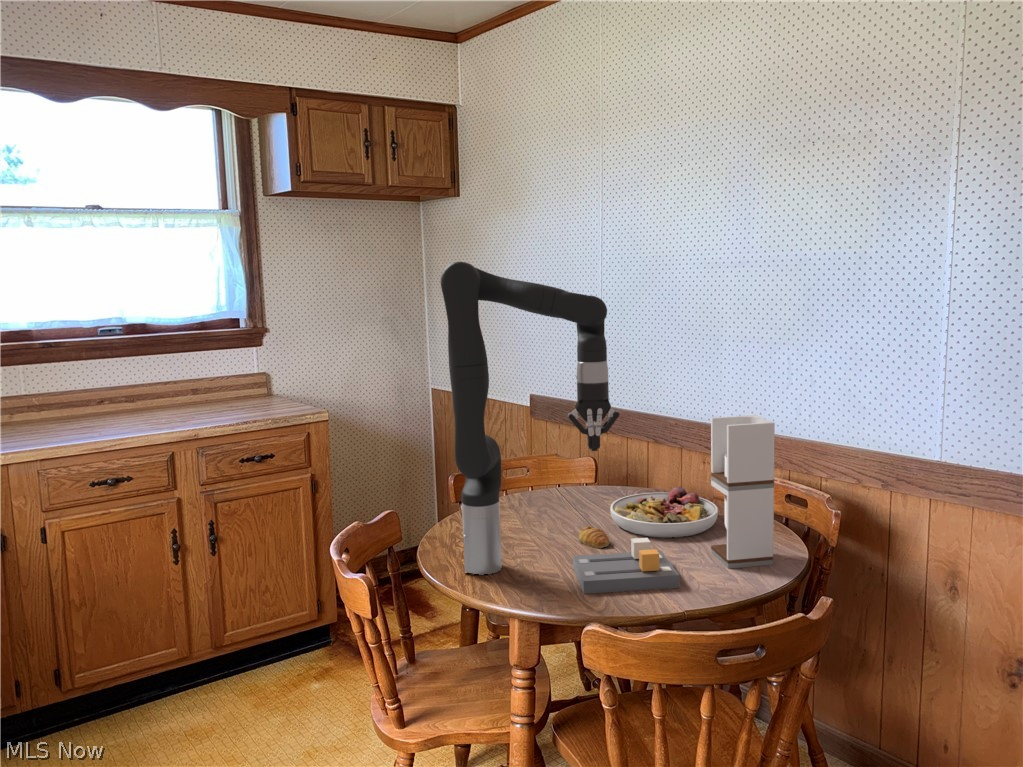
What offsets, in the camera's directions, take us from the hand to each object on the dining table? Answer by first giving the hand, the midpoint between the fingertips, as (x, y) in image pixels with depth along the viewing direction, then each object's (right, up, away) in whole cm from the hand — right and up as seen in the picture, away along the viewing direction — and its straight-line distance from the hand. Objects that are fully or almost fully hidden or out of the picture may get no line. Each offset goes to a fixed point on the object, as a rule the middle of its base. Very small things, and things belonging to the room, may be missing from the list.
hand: (594, 450), depth 191 cm
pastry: (+2, -27, +20) cm, 34 cm away
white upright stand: (+37, -28, +5) cm, 46 cm away
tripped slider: (+12, -27, -9) cm, 30 cm away
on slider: (+11, -26, -1) cm, 28 cm away
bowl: (+23, -24, +34) cm, 48 cm away
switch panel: (+7, -30, -4) cm, 31 cm away
